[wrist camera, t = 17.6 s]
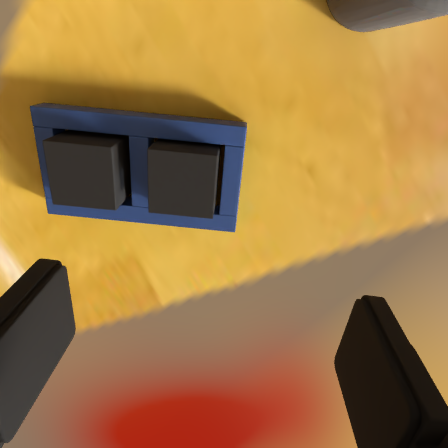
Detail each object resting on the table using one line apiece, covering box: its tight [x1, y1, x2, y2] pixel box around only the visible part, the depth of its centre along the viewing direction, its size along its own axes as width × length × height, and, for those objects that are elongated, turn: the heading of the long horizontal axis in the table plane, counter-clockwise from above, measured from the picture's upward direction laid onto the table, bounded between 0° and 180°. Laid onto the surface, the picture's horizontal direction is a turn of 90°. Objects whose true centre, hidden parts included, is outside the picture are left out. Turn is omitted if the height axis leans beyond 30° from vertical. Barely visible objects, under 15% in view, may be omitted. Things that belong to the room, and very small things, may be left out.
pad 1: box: [42, 130, 131, 211], centre depth 26 cm, size 5×5×4 cm
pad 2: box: [147, 139, 221, 219], centre depth 26 cm, size 5×5×4 cm
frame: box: [30, 103, 247, 232], centre depth 27 cm, size 9×16×2 cm, turn 85°
